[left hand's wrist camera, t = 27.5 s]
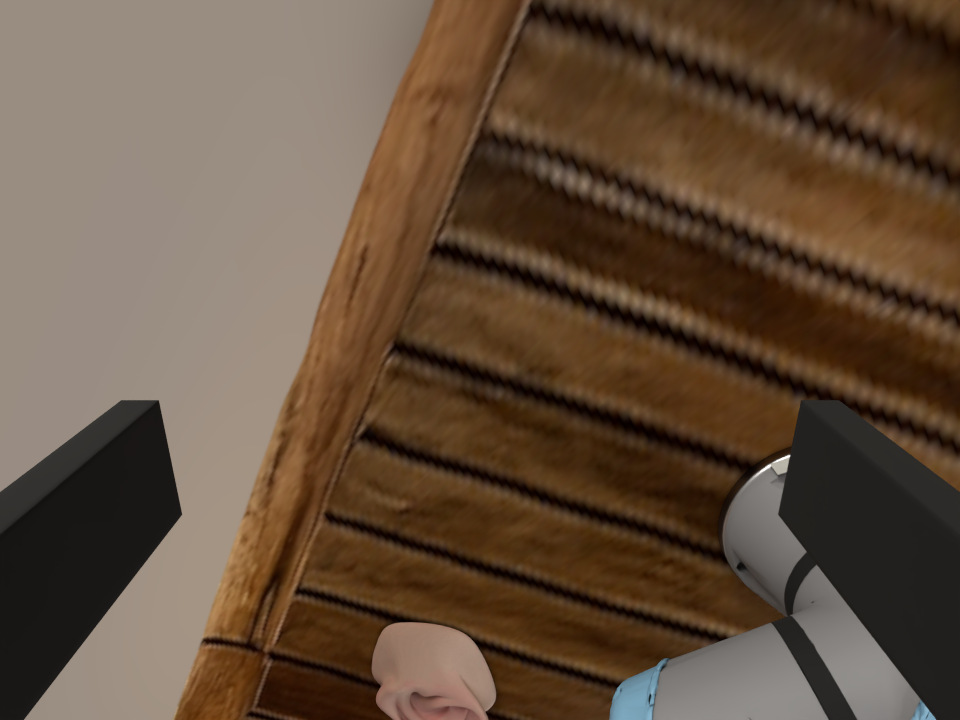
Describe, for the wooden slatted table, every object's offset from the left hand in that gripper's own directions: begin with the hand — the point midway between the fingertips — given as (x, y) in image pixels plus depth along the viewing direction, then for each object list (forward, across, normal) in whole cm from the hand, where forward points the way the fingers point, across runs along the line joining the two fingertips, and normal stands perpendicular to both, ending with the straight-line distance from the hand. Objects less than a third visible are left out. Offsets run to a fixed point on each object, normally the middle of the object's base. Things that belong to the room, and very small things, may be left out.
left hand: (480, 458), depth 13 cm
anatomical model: (+34, -5, -43) cm, 55 cm away
